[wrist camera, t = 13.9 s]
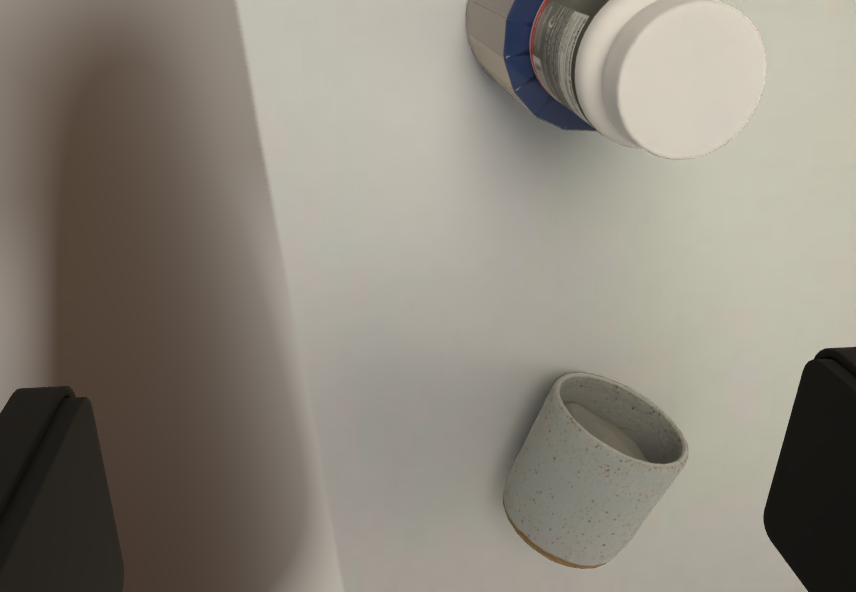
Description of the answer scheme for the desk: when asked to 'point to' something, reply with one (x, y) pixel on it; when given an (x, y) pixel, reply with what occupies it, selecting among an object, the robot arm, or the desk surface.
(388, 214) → the desk surface
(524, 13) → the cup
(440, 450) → the desk surface
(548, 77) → the pill bottle
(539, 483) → the ceramic mug
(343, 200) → the desk surface
